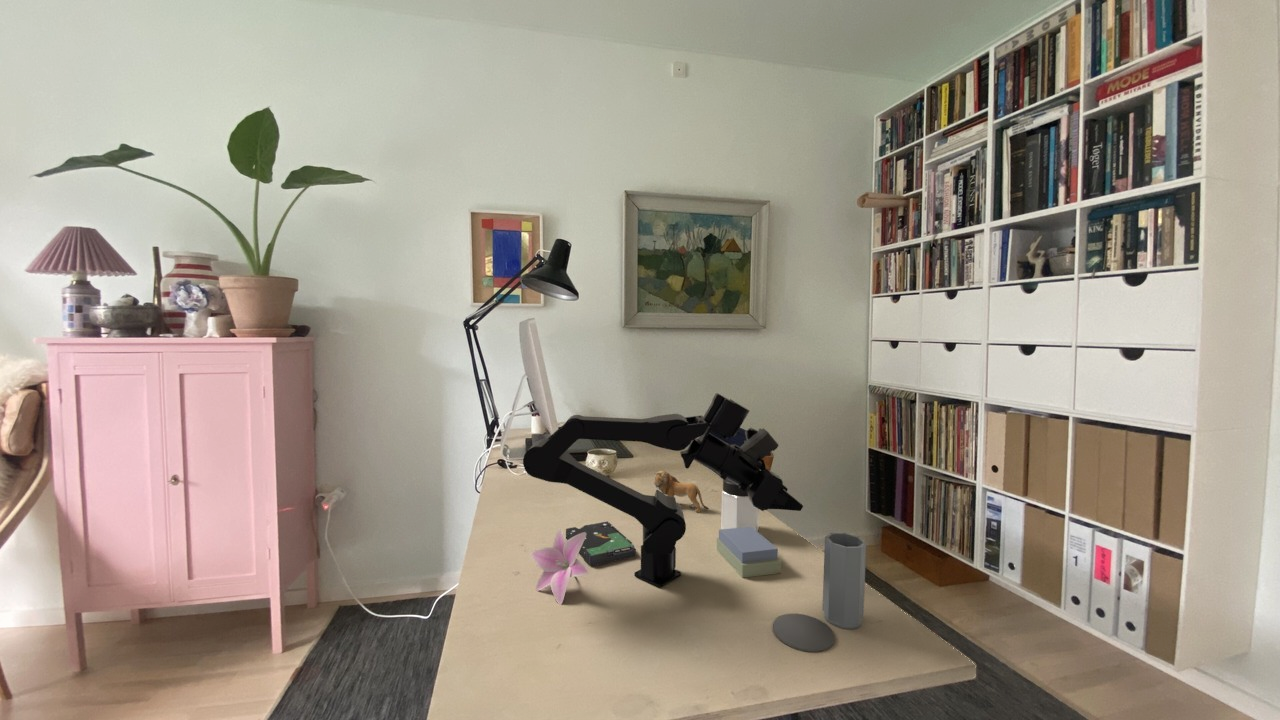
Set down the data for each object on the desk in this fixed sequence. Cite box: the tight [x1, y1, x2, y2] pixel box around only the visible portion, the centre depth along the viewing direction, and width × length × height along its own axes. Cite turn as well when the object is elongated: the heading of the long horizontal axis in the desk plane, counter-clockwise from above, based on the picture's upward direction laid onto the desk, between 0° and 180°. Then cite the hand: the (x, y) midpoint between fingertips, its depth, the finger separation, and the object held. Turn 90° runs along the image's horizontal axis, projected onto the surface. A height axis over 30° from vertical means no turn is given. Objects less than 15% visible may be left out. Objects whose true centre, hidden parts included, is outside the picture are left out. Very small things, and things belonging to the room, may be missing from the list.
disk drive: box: [565, 521, 637, 567], centre depth 105 cm, size 10×3×15 cm
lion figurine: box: [653, 470, 710, 514], centre depth 129 cm, size 15×5×9 cm, turn 70°
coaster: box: [771, 613, 835, 653], centre depth 76 cm, size 9×9×1 cm
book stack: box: [716, 527, 782, 579], centre depth 99 cm, size 12×8×4 cm, turn 14°
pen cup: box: [821, 532, 867, 630], centre depth 79 cm, size 6×6×13 cm
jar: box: [720, 479, 760, 532], centre depth 114 cm, size 9×8×12 cm
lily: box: [530, 528, 589, 605], centre depth 89 cm, size 12×12×10 cm
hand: (793, 499), depth 92 cm, fingers open, 9 cm apart
